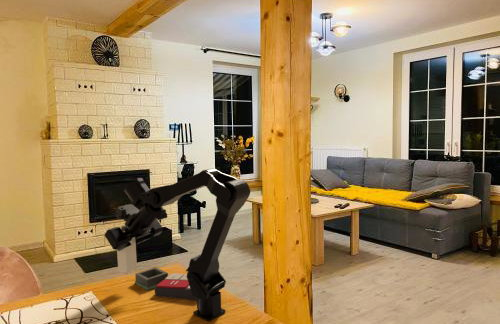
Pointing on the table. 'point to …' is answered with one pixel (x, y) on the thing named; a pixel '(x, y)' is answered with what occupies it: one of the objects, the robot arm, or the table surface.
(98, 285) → the table surface
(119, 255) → the plug
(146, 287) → the grey and green tray
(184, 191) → the robot arm
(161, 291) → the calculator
